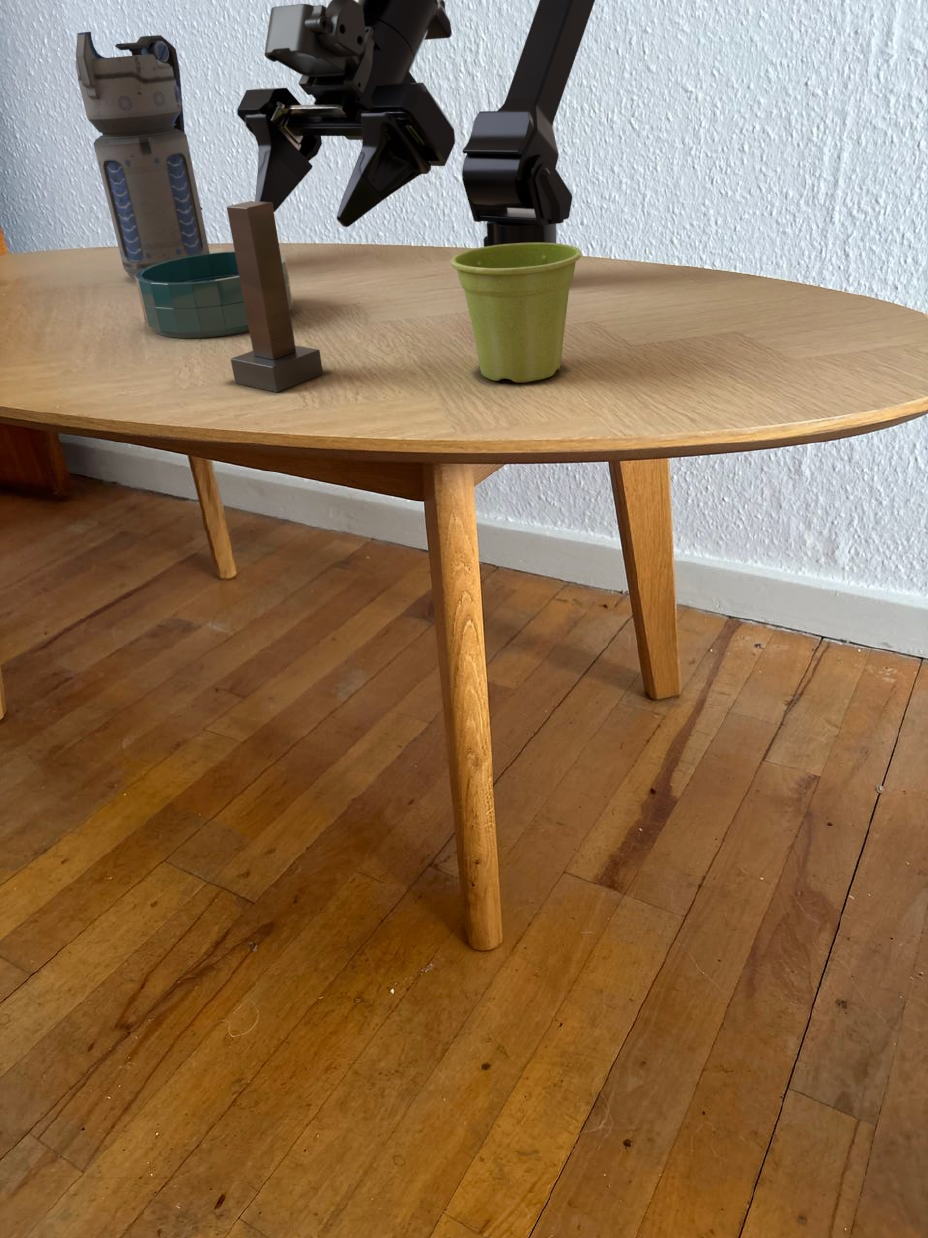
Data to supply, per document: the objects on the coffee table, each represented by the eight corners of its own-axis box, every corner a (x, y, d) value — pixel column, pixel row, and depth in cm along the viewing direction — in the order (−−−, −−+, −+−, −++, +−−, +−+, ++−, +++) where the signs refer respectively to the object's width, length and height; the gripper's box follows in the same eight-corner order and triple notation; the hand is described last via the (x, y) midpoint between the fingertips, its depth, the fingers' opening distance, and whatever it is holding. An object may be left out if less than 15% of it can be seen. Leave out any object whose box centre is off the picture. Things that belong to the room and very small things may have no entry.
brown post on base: (281, 365, 80) (252, 197, 73) (323, 374, 77) (297, 199, 70) (234, 383, 77) (200, 208, 70) (277, 392, 74) (245, 211, 67)
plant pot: (441, 367, 76) (431, 253, 72) (546, 346, 79) (543, 235, 75) (490, 400, 69) (483, 275, 64) (604, 376, 72) (605, 254, 67)
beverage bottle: (243, 262, 118) (200, 24, 105) (166, 287, 109) (108, 29, 95) (182, 259, 123) (134, 30, 110) (103, 283, 113) (40, 35, 100)
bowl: (321, 304, 97) (314, 252, 94) (230, 344, 87) (219, 286, 84) (214, 296, 103) (204, 247, 100) (116, 333, 93) (103, 279, 90)
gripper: (232, -31, 74) (147, 146, 72) (416, -58, 63) (320, 148, 62) (320, 78, 83) (246, 237, 82) (493, 70, 73) (411, 252, 71)
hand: (299, 220), depth 74 cm, fingers open, 9 cm apart
